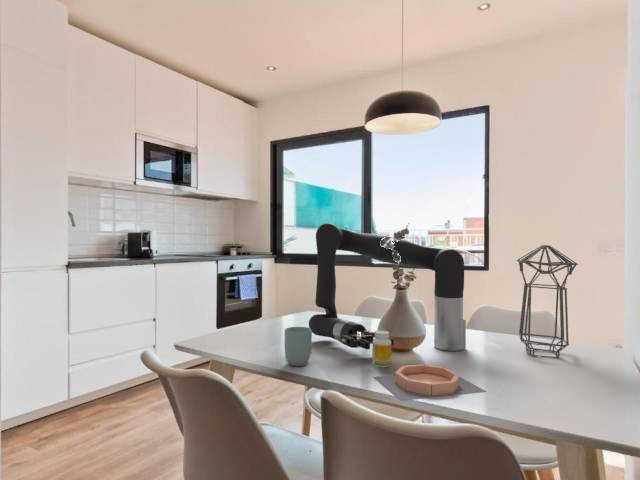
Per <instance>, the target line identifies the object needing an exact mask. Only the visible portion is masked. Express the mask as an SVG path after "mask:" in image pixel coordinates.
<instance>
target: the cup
mask: <svg viewBox="0 0 640 480" xmlns="http://www.w3.org/2000/svg"><path fill="white" fill-rule="evenodd" d="M312 334H313V333H312V331H311V328H309V326H308V327H306V326H290V327H287V328H285V329H284V342H283V343H284V345H283V346H284V356H285V360H286V362H287V363H288V364H289V365H290V366H293V367H302V366H305V365H306V364H308V363H309V361H310V359H311V355H312V348H313V347H312V344H313V343H312V342H313V341H312V338H313V336H312Z"/></svg>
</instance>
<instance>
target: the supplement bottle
mask: <svg viewBox="0 0 640 480" xmlns="http://www.w3.org/2000/svg"><path fill="white" fill-rule="evenodd" d="M374 332H375V337H376V338H375V337H374V339H373V343H372V344H371V345H372V347H371V348H372V349H371V350H372V353H371V354H372V355H371V357H372V360H371V362H372V363H371V364H372V366H375V367H380V368H381V367H382V368H385V367H387V368H388V367H390V366H391V365H392V346H391V340H390V339H388V338H389V337H390V336H389V334H390V332H389V331H387V330H375V331H374Z"/></svg>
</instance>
